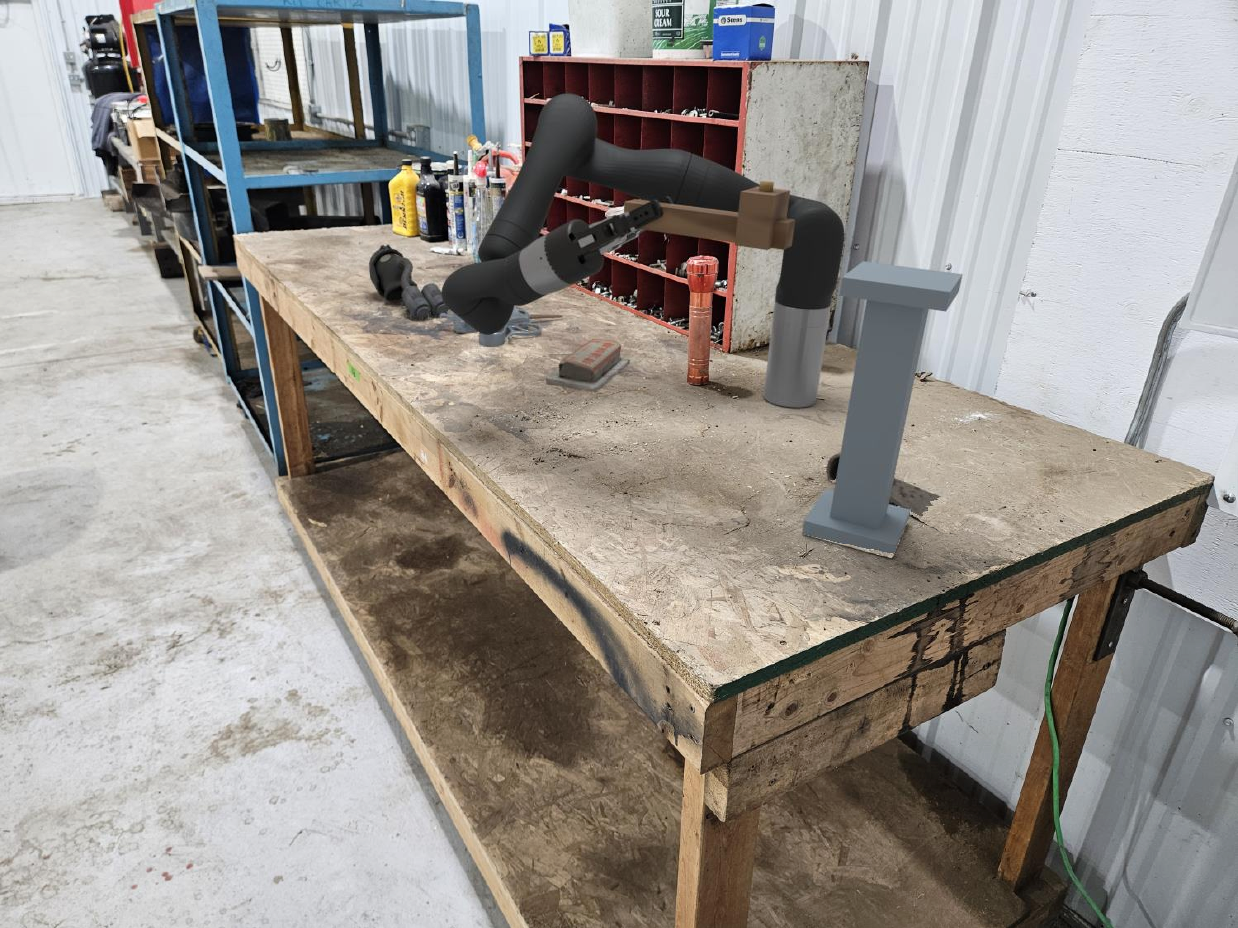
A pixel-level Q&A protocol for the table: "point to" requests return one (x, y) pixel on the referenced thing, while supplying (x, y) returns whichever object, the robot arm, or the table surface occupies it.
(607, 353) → the packaged product
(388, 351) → the table surface
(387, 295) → the gas mask
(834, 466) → the axe head
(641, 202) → the marking gauge
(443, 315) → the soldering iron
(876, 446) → the stand
